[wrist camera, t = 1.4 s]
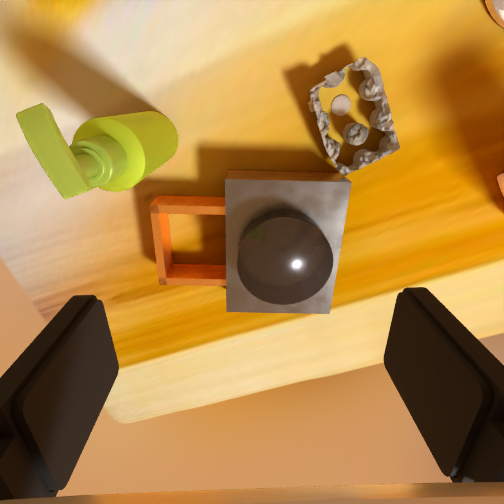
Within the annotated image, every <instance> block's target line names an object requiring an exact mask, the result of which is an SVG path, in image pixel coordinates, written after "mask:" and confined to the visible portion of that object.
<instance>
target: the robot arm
mask: <svg viewBox="0 0 504 504" xmlns="http://www.w3.org/2000/svg"><path fill="white" fill-rule="evenodd" d="M485 3H486V6H487V8H488V10H489V12H490V15H491V16H492V17H493V19H494V20H495V21H496V22H497V23H498V24H499V25H500V26H502V27H503V28H504V0H485ZM384 365H385V368H386V370H387V371H388V373H389V375H390V377H391V379H392V381H393V383H394V385H395V386H396V388H397V390H398V392H399V394H400V396H401V397H402V399H403V401H404V403H405V405H406V407H407V408H408V410H409V412H410V414H411V416H412V418H413V420H414V422H415V423H416V425H417V427H418V429H419V431H420V433H421V435H422V436H423V438H424V440H425V442H426V444H427V446H428V447H429V449H430V451H431V453H432V455H433V457H434V458H435V460H436V462H437V464H438V466H439V468H440V470H441V471H442V473H443V474H444V475H445V476H447V477H448V476H450V478H451V480H452V482H453V483H413V484H382V485H381V484H379V485H346V486H313V487H284V488H259V489H258V488H256V489H228V490H202V491H178V492H177V491H176V492H151V493H128V494H102V495H81V496H63V497H56V495H57V492H58V490H62V489H64V488H65V486H66V485H67V483H68V481H69V479H70V477H71V475H72V472H73V470H74V468H75V466H76V463H77V462H78V459H79V457H80V455H81V453H82V451H83V449H84V446H85V444H86V442H87V440H88V438H89V436H90V433H91V431H92V429H93V427H94V425H95V422H96V421H97V418H98V416H99V414H100V412H101V410H102V408H103V405H104V403H105V401H106V399H107V397H108V395H109V392H110V390H111V388H112V386H113V384H114V382H115V379H116V377H117V375H118V370H119V365H118V360H117V356H116V352H115V348H114V344H113V341H112V337H111V333H110V329H109V325H108V321H107V317H106V313H105V309H104V306H103V302H102V301H101V300H97V298H96V296H94V295H76V296H73V297H72V298H71V299H70V300H69V301H68V302H67V303H66V304H65V305H64V307H63V308H62V309H61V310H60V311H59V312H58V313H57V314H56V316H55V317H54V318H53V319H52V320H51V321H50V322H49V324H48V325H47V326H46V327H45V328H44V329H43V330H42V331H41V333H40V334H39V335H38V336H37V337H36V338H35V339H34V341H33V342H32V343H31V344H30V345H29V346H28V347H27V348H26V350H25V351H24V352H23V353H22V354H21V355H20V356H19V357H18V359H17V360H16V361H15V362H14V363H13V364H12V365H11V366H10V368H9V369H8V370H7V371H6V372H5V373H4V374H3V375H2V377H1V378H0V504H504V365H502V363H500V361H499V360H497V358H495V356H494V355H493V354H492V353H491V352H490V351H489V350H488V349H487V348H486V347H485V346H484V345H483V344H482V343H481V342H480V341H479V340H478V339H477V338H476V337H475V336H474V335H473V334H472V333H471V332H470V331H469V330H468V329H467V328H466V327H465V326H464V325H463V324H462V323H461V322H460V321H459V320H458V319H457V318H456V317H455V316H454V315H453V314H452V313H451V312H450V311H449V310H448V309H447V308H446V307H445V306H444V305H443V304H442V303H441V302H440V301H439V300H438V299H437V298H436V297H435V296H434V295H433V294H432V293H431V292H430V291H429V290H428V289H426V288H424V287H417V288H405V289H404V290H403V292H400V293H399V294H398V296H397V299H396V304H395V308H394V313H393V317H392V322H391V326H390V331H389V336H388V340H387V345H386V349H385V354H384Z"/></svg>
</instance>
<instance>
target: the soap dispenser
mask: <svg viewBox="0 0 504 504" xmlns="http://www.w3.org/2000/svg"><path fill="white" fill-rule="evenodd" d="M16 117H17V119H18V122H19V124H20V127H21V129H22V131H23V133H24V135H25V137H26V140H27V142H28V144H29V145H30V147H31V149H32V151H33V153H34V154H35V156H36V158H37V160H38V161H39V163H40V164H41V166H42V168H43V169H44V171H45V172H46V174H47V175H48V177H49V178H50V180H51V181H52V183H53V184H54V185H55V187H56V188H57V190H58V191H59V193H60V194H61V195H62V197H63V198H64V199H67V198H70V197H73V196H76V195H78V194H81V193H84V192H87V191H89V190H91V189H93V188H96V187H99V188H101V189H103V190H107V191H113V192H119V191H124V190H127V189H130V188H132V187H133V186H135V185H136V184H137V183H139V182H140V181H141V180H143V179H144V178H145V177H146V176H148V175H149V174H150V173H152V172H153V171H154V170H156V169H157V168H158V167H160V166H161V165H162V164H164V163H165V162H166V161H168V160H169V159H170V158H172V156H173V155H174V154H175V152H176V150H177V147H178V134H177V131H176V129H175V127H174V125H173V123H172V122H171V121H170V120H169V119H168V118H167V117H166V116H164V115H163V114H161V113H158V112H154V111H145V112H137V113H130V114H122V115H114V116H107V117H99V118H94V119H90V120H88V121H86V122H85V123H83V124H82V125H81V126H80V127H79V128H78V129H77V131H76V133H75V135H74V137H73V142H72V144H71V145H70V146H69V147H68V145H67V143H66V141H65V140H64V138H63V136H62V134H61V132H60V130H59V128H58V126H57V124H56V122H55V120H54V117H53V115H52V113H51V111H50V109H49V108H47V107H46V106H45V105H44V104H43V103H41V104H38V105H36V106H33V107H31V108H28V109H26V110H23V111H21V112H19V113H17V114H16Z"/></svg>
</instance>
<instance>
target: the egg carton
mask: <svg viewBox="0 0 504 504" xmlns="http://www.w3.org/2000/svg"><path fill="white" fill-rule="evenodd" d="M346 67H349V68H350V69H351V70H353V71H360V70H362V71H363V73H364V75H365V79H364V80H363V81H362V82H361V84H360V86H359V95H360V97H361V98H362V99H363V100H367V101H374V104H375V107H376V108H375V109H374V110H373V111H372V113H371V114H370V117H369V122H370V125H371V126H372V127H373V128H376V129H380V130H381V131H384V132H385V136H384V137H383V138H382V139H381V140H380V142H379V149H378V150H377V151H375V152H372V151H370V150H368V149H359V150H358V151H356V153H355V154H354V156H353V164H351V165H349V166H345V165H344V164H342V163H336V162H335V160H336V159H337V156H338V155H339V152H340V143H339V142H337V141H335V140H334V139H331V138H325V136H326V134H327V132H328V130H329V127H328V125H329V121H330V120H329V119H328V114H327V113H326V112H325V111H322V107H321V104H320V100H319V96H318V92H319V89H320V88H321V87H322V86H323V87H325V88H334V87H337V86H339V85H340V84H341V82H342V81H343V79H344V76H345V68H346ZM346 67H344V68H342V69H340V71H338V72H337V71H335V72H332V73H331V74H329V75H327V76H325V77H324V78H325V80H324V81H322V82H320V83H318V84H316V85H314V86H313V87H312V89H311V90H310V91H309V92H308V93H310V96H311V99H310V100H309V102H308V107H309V109H310V112H316V115H317V119H318V121H317V123H318V126H319V129H320V130H319V132H320V133H321V135H322V139H323V143H324V146H325V148H326V151H327V152H328V154H329V156H330V158H331V160H332V161H333V163H334V164H335V166H336V169H337V170H338V171H339V172H340V173H341V174H342V176H346V175H347V174H348V173H350V172H352V171H355V170H358V169H361V168H362V167H364V166H366V165H368V164H371V163H373V162H375V161H377V160H379V159H381V158H383V157H384V156H386V155H389V154H391V153H393V152H395V151H397V150H398V149H399V148H400V146H399V142H398V139H397V135H396V132H395V130H394V127H393V121H392V119H391V111H390V108H389V105H388V102H387V97H386V94H385V91H384V87H383V82H382V78H381V74H380V72H379V69H378V67H377V66H376V65H375V64H373V63H372V62H371V61H369V60H368V59H367V58H365V57H363V58H360V59H359V60H357V61H356V62H355V63H351V64H349V65H347V66H346ZM350 107H351V102H350V99H349V97H347V96H346V95H338V96H337V97H335V98H334V100H333V101H332V104H331V110H332V112H333V113H334V115H336V116H344V115H346V114H347V113H348V111H349V110H350ZM342 136H343V139H344V140H345V141H346V142H347V143H349V144H351V145H355V146H356V145H360V144H362V143H364V142H365V140H366V138H367V137H368V128H367V127H365V126H364V125H363V124H359V123H354V122H353V123H349V124H348V125H346V126H345V127H344V129H343V133H342Z"/></svg>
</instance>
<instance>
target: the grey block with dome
mask: <svg viewBox="0 0 504 504" xmlns="http://www.w3.org/2000/svg"><path fill="white" fill-rule="evenodd" d="M350 188H351V181H349V180H348V179H347V178H346V177H345V176H342V174H341V173H339V172H299V171H259V170H228V171H227V174H226V177H225V197H202V196H161V195H158V196H157V197H156V198H155V200H154V201H153V202H152V203H151V204H150V205H149V206H150V215H151V223H152V231H153V239H154V247H155V255H156V263H157V271H158V279H159V285H204V286H226V302H227V312H259V313H309V314H330V309H331V303H332V297H333V291H334V285H335V278H336V272H337V266H338V260H339V254H340V248H341V242H342V236H343V230H344V224H345V218H346V212H347V206H348V200H349V194H350ZM168 214H211V215H225V227H226V265H205V264H173V260H172V250H171V240H170V229H169V219H168Z"/></svg>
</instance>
